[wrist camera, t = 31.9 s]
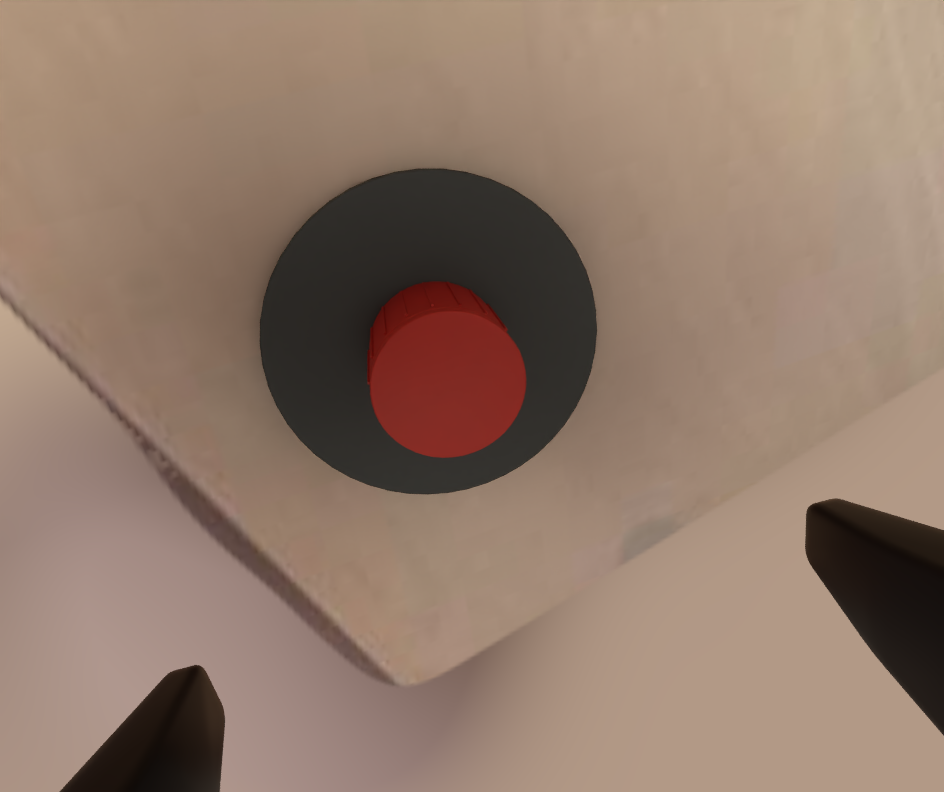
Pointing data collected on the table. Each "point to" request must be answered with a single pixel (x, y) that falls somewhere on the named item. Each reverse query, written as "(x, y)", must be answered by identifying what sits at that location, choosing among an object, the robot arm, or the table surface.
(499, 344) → the cap
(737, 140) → the table surface
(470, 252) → the coaster
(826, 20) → the table surface
